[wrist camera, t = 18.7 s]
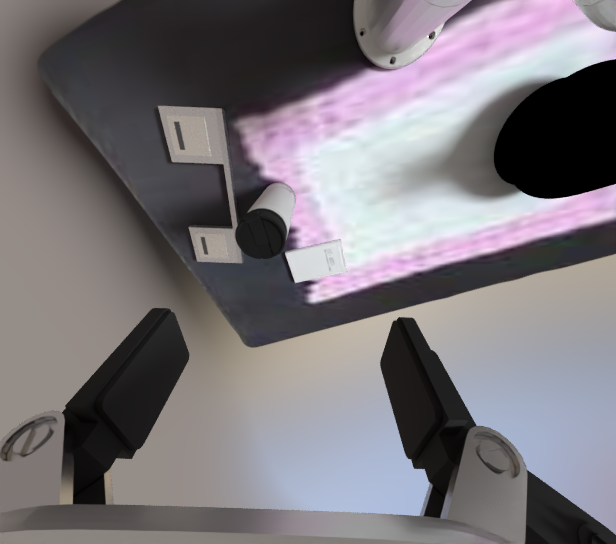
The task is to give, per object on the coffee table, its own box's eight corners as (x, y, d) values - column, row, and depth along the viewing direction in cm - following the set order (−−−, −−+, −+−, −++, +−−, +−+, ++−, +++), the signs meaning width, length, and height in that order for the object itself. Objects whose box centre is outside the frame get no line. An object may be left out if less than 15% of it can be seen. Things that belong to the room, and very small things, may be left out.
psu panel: (163, 106, 37) (156, 105, 36) (224, 109, 37) (221, 108, 36) (200, 258, 52) (196, 262, 50) (244, 259, 52) (242, 263, 50)
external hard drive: (285, 250, 51) (340, 237, 49) (295, 279, 55) (346, 269, 54) (284, 253, 50) (341, 240, 48) (295, 283, 54) (347, 272, 52)
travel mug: (290, 176, 42) (276, 208, 25) (298, 211, 46) (290, 259, 29) (258, 184, 43) (223, 219, 26) (269, 217, 47) (243, 267, 30)
